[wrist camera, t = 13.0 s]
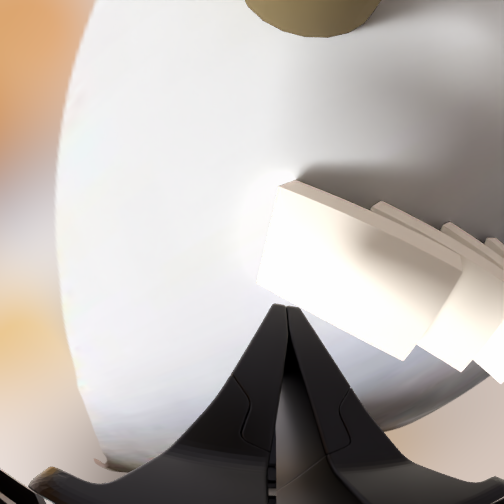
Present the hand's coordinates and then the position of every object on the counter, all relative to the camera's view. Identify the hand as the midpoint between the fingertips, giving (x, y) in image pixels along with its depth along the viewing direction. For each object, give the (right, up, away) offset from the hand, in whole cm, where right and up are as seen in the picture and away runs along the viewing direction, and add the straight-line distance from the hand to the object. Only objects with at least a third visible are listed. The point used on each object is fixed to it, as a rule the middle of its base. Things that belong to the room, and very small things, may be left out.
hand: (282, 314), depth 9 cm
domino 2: (+4, +2, +5) cm, 7 cm away
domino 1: (0, +3, +5) cm, 5 cm away
